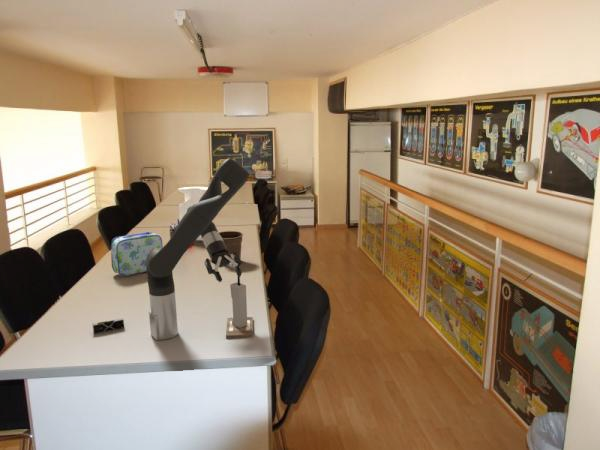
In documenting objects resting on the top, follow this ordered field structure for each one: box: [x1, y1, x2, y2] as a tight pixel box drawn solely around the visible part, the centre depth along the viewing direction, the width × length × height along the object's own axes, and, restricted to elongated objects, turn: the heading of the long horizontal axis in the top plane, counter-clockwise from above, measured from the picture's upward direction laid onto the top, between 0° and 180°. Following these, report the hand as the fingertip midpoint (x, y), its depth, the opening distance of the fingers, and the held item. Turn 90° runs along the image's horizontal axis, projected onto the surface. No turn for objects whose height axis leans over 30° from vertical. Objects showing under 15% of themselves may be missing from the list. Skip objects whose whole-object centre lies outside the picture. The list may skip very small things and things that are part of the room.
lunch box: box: [110, 231, 164, 277], centre depth 261 cm, size 26×11×21 cm, turn 131°
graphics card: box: [91, 318, 125, 334], centre depth 191 cm, size 12×3×5 cm, turn 116°
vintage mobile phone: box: [229, 264, 248, 328], centre depth 189 cm, size 4×5×25 cm
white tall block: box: [177, 186, 209, 242], centre depth 322 cm, size 35×11×21 cm
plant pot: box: [218, 230, 244, 263], centre depth 276 cm, size 16×16×16 cm
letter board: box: [225, 316, 254, 339], centre depth 192 cm, size 16×10×1 cm, turn 6°
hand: (230, 278), depth 194 cm, fingers open, 8 cm apart
